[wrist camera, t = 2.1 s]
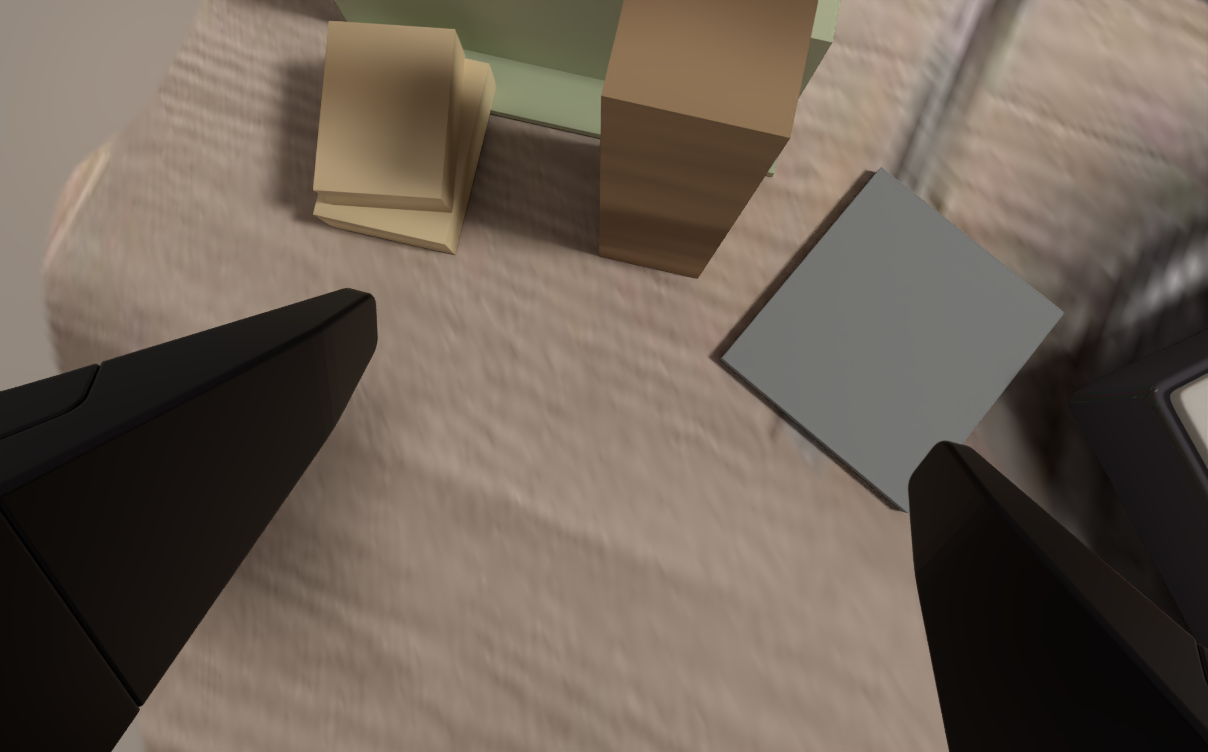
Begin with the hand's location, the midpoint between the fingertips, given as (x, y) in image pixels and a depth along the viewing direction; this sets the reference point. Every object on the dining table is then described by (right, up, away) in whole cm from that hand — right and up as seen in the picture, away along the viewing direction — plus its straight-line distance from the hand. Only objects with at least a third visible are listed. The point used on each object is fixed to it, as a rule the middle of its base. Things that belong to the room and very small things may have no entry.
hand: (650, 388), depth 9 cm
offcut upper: (-8, +9, +13) cm, 18 cm away
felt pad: (+10, +2, +14) cm, 17 cm away
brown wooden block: (+2, +7, +14) cm, 16 cm away
